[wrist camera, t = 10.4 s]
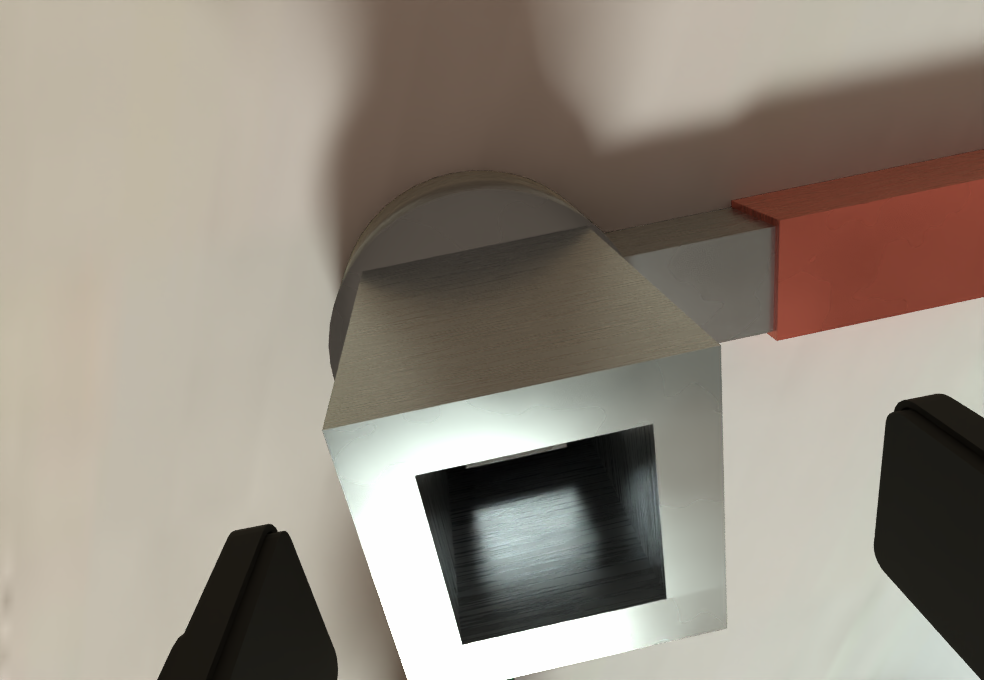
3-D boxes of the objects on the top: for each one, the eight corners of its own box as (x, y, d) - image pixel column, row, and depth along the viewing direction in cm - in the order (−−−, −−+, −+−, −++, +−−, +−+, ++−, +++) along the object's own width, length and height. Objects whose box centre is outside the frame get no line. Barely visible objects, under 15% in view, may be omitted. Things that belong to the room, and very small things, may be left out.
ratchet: (1046, 55, 17) (1353, 49, 12) (998, 314, 21) (1218, 407, 15) (306, 201, 17) (251, 270, 11) (379, 447, 20) (367, 596, 14)
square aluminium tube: (586, 225, 15) (720, 345, 8) (608, 417, 17) (726, 628, 10) (362, 271, 14) (322, 430, 8) (414, 459, 17) (414, 700, 10)
